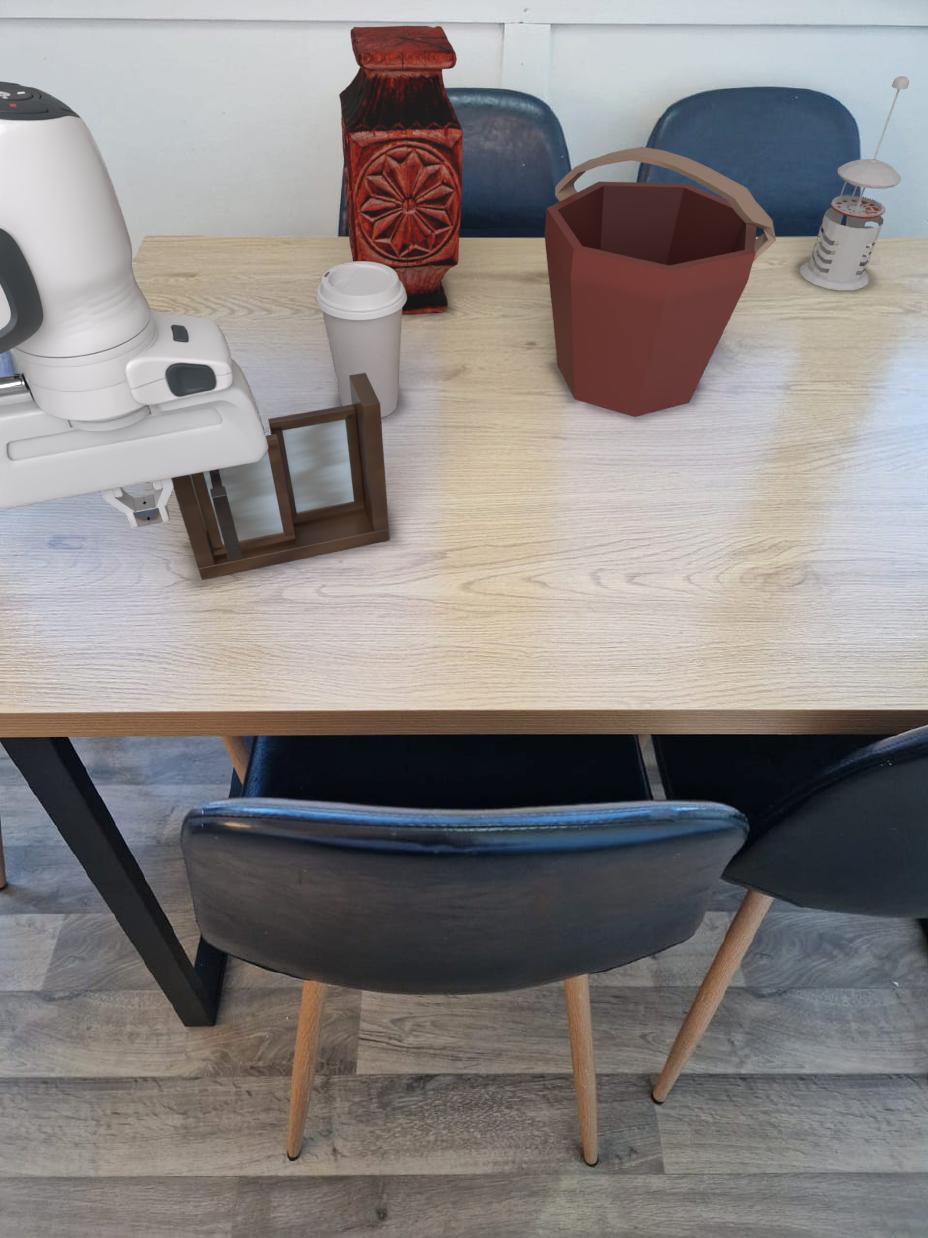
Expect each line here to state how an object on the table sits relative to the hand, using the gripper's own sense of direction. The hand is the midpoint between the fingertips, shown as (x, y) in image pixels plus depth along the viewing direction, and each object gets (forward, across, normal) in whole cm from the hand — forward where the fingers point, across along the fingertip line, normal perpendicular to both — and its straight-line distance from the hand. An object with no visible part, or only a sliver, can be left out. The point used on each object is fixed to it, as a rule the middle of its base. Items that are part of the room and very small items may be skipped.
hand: (150, 520), depth 66 cm
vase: (+12, +35, +52) cm, 63 cm away
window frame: (+11, +11, +6) cm, 17 cm away
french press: (+12, +97, +40) cm, 106 cm away
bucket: (+12, +55, +24) cm, 61 cm away
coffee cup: (+12, +24, +28) cm, 38 cm away
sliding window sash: (+9, +7, +3) cm, 12 cm away
